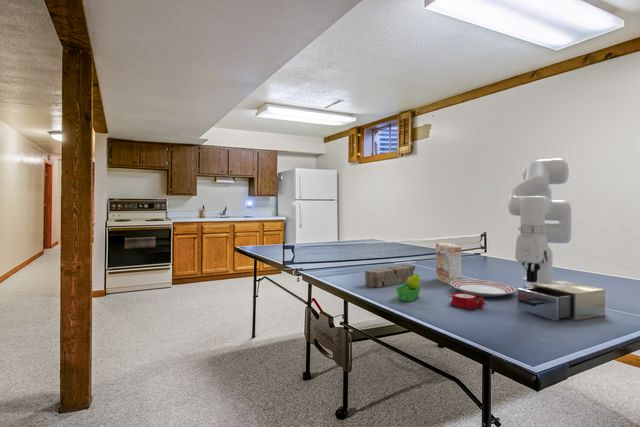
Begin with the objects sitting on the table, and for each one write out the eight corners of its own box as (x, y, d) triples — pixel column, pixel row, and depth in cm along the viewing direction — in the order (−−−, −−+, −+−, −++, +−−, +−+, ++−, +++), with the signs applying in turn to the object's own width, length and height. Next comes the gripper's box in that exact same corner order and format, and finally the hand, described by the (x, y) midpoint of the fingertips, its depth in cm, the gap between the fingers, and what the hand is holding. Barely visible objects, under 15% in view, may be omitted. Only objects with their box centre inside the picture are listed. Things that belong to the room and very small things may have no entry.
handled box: (545, 322, 122) (546, 299, 122) (507, 310, 137) (508, 289, 137) (585, 315, 129) (585, 294, 129) (544, 304, 144) (545, 285, 143)
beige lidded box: (575, 320, 126) (575, 293, 126) (532, 308, 142) (532, 283, 142) (604, 315, 132) (605, 289, 132) (560, 303, 147) (560, 280, 147)
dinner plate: (505, 286, 178) (505, 279, 178) (524, 301, 151) (524, 293, 151) (446, 284, 184) (446, 278, 183) (455, 298, 157) (455, 291, 157)
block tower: (375, 290, 177) (416, 280, 194) (375, 273, 177) (415, 264, 193) (365, 287, 184) (404, 277, 200) (364, 270, 183) (404, 262, 200)
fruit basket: (405, 294, 164) (405, 270, 164) (424, 297, 159) (424, 272, 159) (395, 300, 155) (394, 274, 155) (415, 303, 150) (414, 276, 150)
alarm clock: (460, 291, 155) (490, 290, 142) (463, 306, 154) (494, 306, 141) (443, 294, 150) (472, 294, 137) (445, 309, 149) (475, 310, 136)
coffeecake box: (435, 278, 197) (435, 243, 197) (448, 278, 198) (448, 242, 197) (448, 285, 182) (448, 246, 182) (461, 284, 183) (461, 246, 182)
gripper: (506, 229, 135) (506, 278, 136) (544, 232, 121) (543, 286, 122) (521, 229, 138) (521, 277, 138) (559, 231, 124) (559, 285, 124)
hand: (531, 281), depth 130 cm, fingers closed
